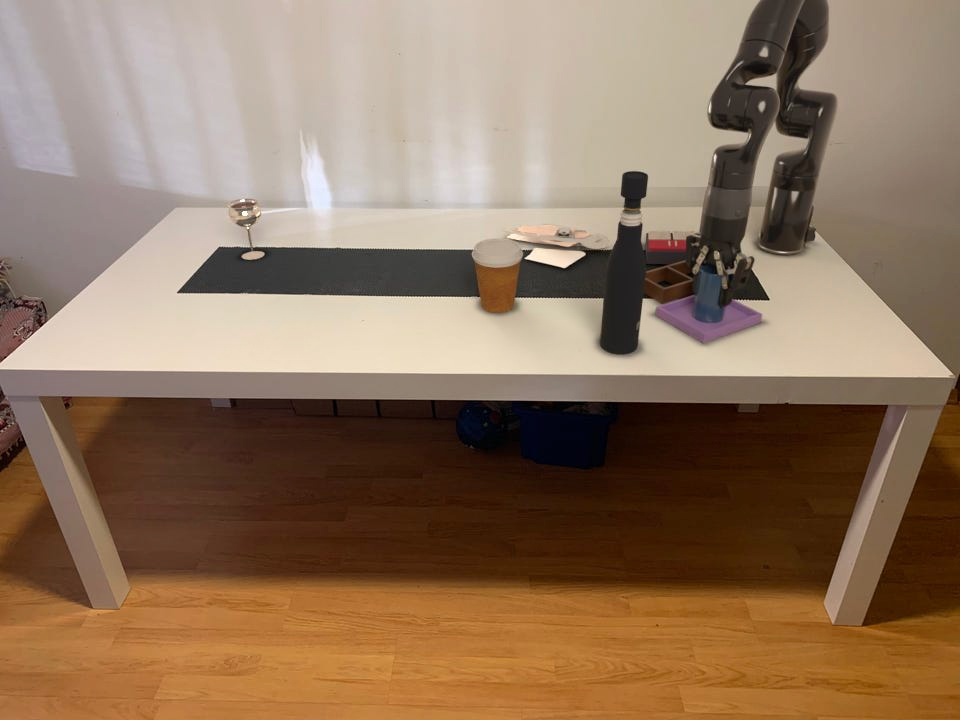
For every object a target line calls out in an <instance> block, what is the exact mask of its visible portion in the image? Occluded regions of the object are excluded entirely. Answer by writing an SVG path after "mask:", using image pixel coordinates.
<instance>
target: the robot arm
mask: <svg viewBox="0 0 960 720" xmlns="http://www.w3.org/2000/svg"><path fill="white" fill-rule="evenodd" d="M829 36H830V4H829V1H828V0H759V1H758V2H757V3H756V5H755V6H754V8H753V9H752V11H751V12H750V15H749V16H748V18H747V21H746V23H745V27H744V30H743V33H742V36H741V39H740V42H739V45H738V49H737V52H736V54H735V56H734V58H733V59H732V61H731V63H730V65H729V66H728V68H727V70H726V72H724V74H723V76H722V78H721V79H720V81H719V82H718V84H717V85H716V87H715V89H714V90H713V92H712V93H711V96H710V98H709V100H708V102H707V103H708V104H707V107H706V117H707V121H708V123H709V125H710V126H711V127H712V128H714V129H715V130H721V131H727V132H737V133H744V134H747V137H746V140H745V141H743V142H738V143H727V144H722V145H720V146H717V147H716V148H715V149H714V151H713V153H712V156H711V162H710V168H709V169H710V170H709V176H708V181H707V186H706V190H705V193H704V198H703V205H702V211H701V217H700V224H699V229H698V232H699V233H700V234H699V233H697V232H696V233H697V234H692V235H689V236H687V237H686V266H687V268H691V269H692V272H693V273H692V274H693V277H692V278H693V284H692V289H693V293H694V294H695V291H696V284H697V278H698V271H699V266H702V265H703V266H705V265H708V264H711V265H713V266H715V267H716V268H717V272H718V275H719V276H721V283H722V288H721V290H720V296H719V302H718V306H720V307H725V306H728V305H729V304H731V302H732V299H733V297H734V292H735V290H737V289H741V288H743V287H745V286H746V285H747V282H748V280H749V277H750V274H751V272H752V269H753V267H754V263H755V260H756V259H755V257H754V256H753V255H750V256H747V255H746V254H744V253H743V252H742V246H741V244H742V241H743V240H744V238H745V236H746V232H747V231H746V230H747V226H748V218H749V215H750V210H751V205H752V204H751V203H752V198H753V185H754V181H755V175H756V169H757V164H758V160H759V157H760V154H761V152H762V149H763V146H764V144H765V142H766V139H767V137H768V135H769V133H770V131H771V129H772V128H773V126H775V129H776V131H777V133H778V134H779V135H782V136H785V137H790V138H796V139H803V140H807V143H806V145H805V146H804V147H801V148H799V149H795V150H789V151H784V152H781V153H779V154H778V155H776V157H775V159H774V161H773V167H772V171H771V175H770V182H769V187H768V193H767V196H766V201H765V207H764V212H763V217H762V222H761V226H760V228H759V230H758V240H757V247H758V248H759V249H761V251H762V250H763V251H765V252H767V253H769V254H775V255H780V256H790V255H797V254H799V253H801V252H802V251H803V249H804V248H805V247H806V243H809V242H815V240H816V231H817V228H816V227H813V226H811V222H812V217H813V213H814V209H815V206H814V205H813V204H814V200H815V196H816V191H817V186H818V183H819V178H820V174H821V169H822V166H823V162H824V158H825V155H826V153H827V147H828V143H829V140H830V137H831V133H832V130H833V127H834V123H835V120H836V116H837V112H838V106H839V105H838V104H839V101H838V97H837V94H835V93H833V92H829V91H821V90H813V89H803V88H801V87H800V86H799V81H800V79H801V77H802V76H803V74H804V73H805V72H806V71H807V70H808V68H810V67H811V66H812V64H813V63H814V62H815V61H816V60H817V58H818V57H819V56H820V55H821V53H822V52H823V51H824V49H825V47H826V46H827V43H828V41H829ZM774 75H775V88H773V87H771V86H766V85H765V86H764V85H756V84H755V85H753V84H747V83H749V82H750V81H753V80H756V79H763V78H764V79H765V78H768V77H771V76H774ZM693 254H694V260H693ZM728 266H729V269H727V270H725V269H724V268H725V267H728ZM729 274H730V279H729V280H730V281H728V275H729Z"/></svg>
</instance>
